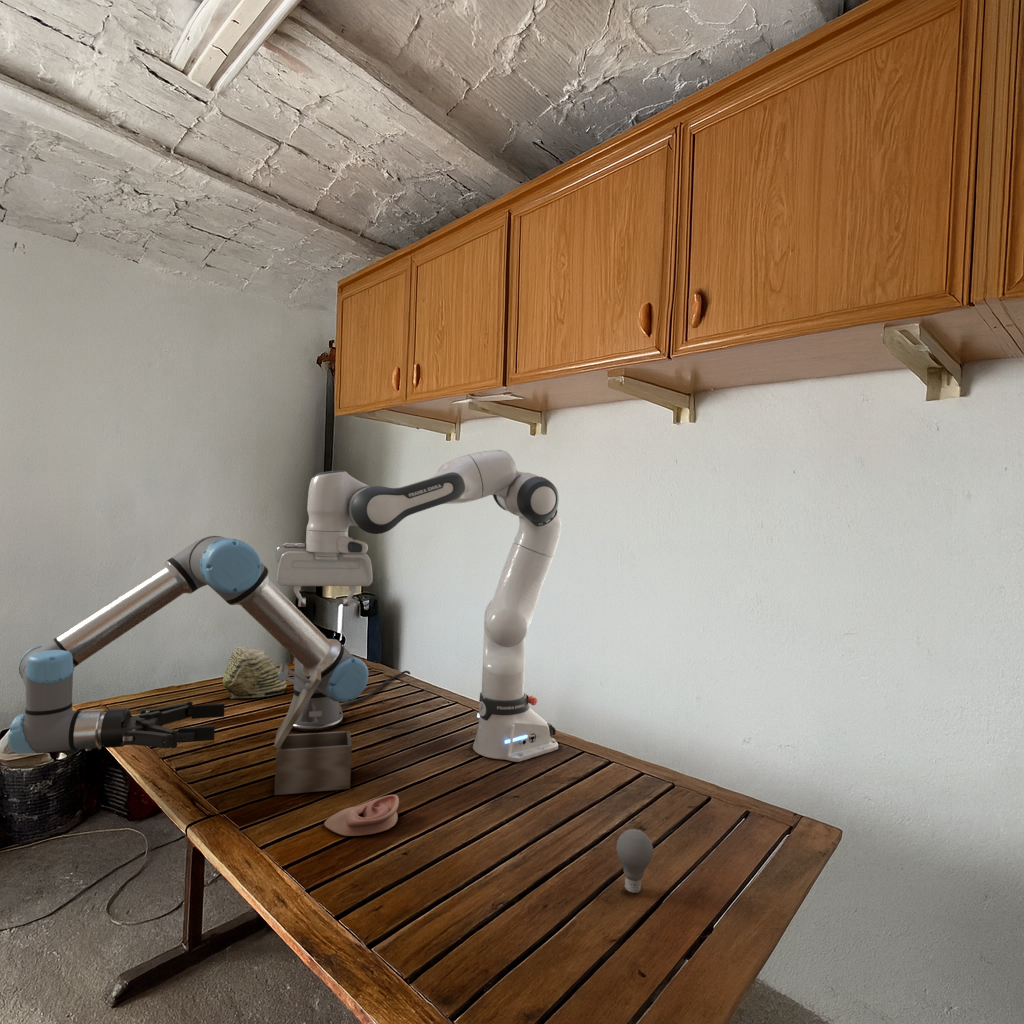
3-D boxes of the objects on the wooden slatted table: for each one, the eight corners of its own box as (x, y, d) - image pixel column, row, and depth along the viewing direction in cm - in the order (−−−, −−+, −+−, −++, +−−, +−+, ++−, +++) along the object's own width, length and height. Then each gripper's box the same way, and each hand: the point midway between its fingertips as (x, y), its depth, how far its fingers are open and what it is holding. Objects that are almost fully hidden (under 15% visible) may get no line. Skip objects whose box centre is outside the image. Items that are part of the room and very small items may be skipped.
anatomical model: (316, 810, 120) (344, 784, 131) (316, 831, 120) (344, 803, 131) (382, 821, 117) (405, 793, 128) (381, 842, 117) (404, 812, 128)
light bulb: (610, 879, 108) (613, 822, 108) (644, 879, 109) (647, 822, 109) (619, 902, 102) (622, 840, 102) (655, 901, 103) (658, 840, 103)
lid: (321, 669, 144) (288, 652, 142) (321, 680, 136) (286, 662, 133) (281, 733, 142) (247, 717, 140) (278, 749, 133) (242, 732, 131)
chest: (348, 771, 147) (349, 730, 147) (350, 788, 138) (351, 745, 138) (277, 776, 142) (278, 735, 142) (274, 795, 133) (276, 751, 133)
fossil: (218, 695, 195) (220, 647, 195) (278, 685, 208) (279, 640, 207) (228, 703, 189) (230, 653, 188) (289, 692, 201) (290, 645, 201)
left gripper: (123, 724, 140) (227, 718, 146) (82, 773, 116) (209, 762, 122) (123, 691, 140) (228, 685, 146) (83, 732, 116) (210, 724, 122)
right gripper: (275, 543, 133) (273, 608, 134) (374, 545, 139) (372, 608, 140) (277, 541, 139) (275, 603, 140) (372, 543, 145) (369, 603, 146)
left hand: (219, 720), depth 134 cm, fingers open, 13 cm apart
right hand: (324, 606), depth 140 cm, fingers open, 8 cm apart
